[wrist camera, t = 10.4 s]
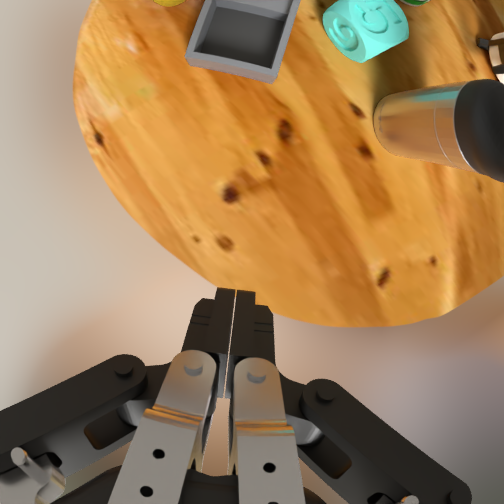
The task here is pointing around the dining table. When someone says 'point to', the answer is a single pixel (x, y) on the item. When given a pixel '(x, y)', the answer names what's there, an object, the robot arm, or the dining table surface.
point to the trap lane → (242, 37)
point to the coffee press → (495, 53)
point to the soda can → (414, 2)
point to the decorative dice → (365, 27)
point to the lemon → (169, 2)
